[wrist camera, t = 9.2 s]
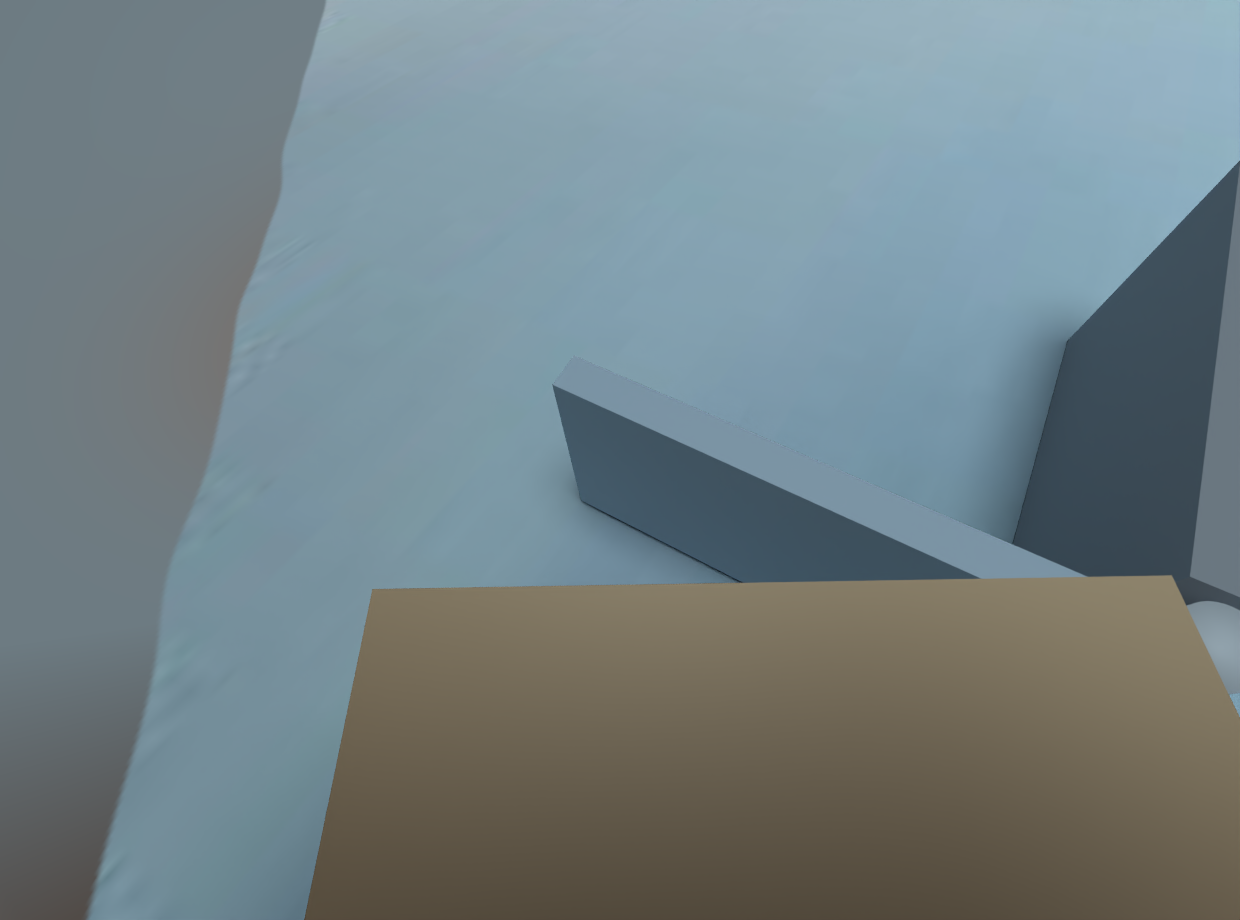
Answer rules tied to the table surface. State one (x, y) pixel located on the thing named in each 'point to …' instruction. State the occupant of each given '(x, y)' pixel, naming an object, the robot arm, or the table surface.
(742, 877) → the block
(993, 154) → the table surface
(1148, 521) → the wall
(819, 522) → the door
